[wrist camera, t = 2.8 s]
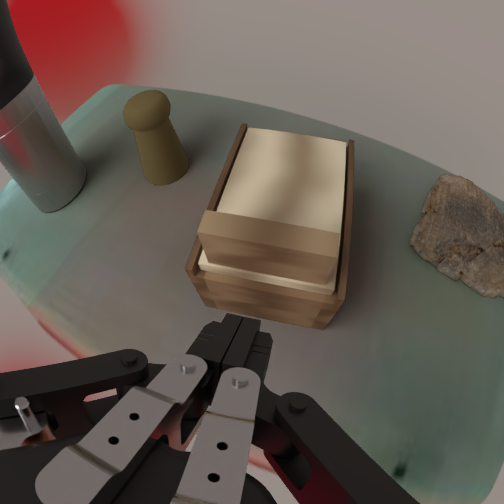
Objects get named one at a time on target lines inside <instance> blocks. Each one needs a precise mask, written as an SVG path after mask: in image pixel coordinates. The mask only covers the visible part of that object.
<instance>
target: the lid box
mask: <svg viewBox="0 0 504 504" xmlns="http://www.w3.org/2000/svg"><path fill="white" fill-rule="evenodd" d="M246 133H247V124H242V125H241V127H240V130H239V132H238V134H237V137H236V139H235V141H234V144H233V146H232V148H231V151H230V153H229V156H228V158H227V160H226V163H225V165H224V168H223V170H222V173H221V175H220V178H219V180H218V182H217V185H216V188H215V190H214V193H213V195H212V198H211V200H210V203H209V205H208V208H207V210H210V211H217V208H218V206H219V203H220V200H221V198H222V195H223V192H224V189H225V187H226V184H227V181H228V179H229V176H230V174H231V171H232V168H233V166H234V163H235V161H236V158H237V155H238V153H239V150H240V148H241V145H242V143H243V140H244V138H245V135H246ZM353 188H354V141H353V140H349V143H348V147H346V162H345V182H344V198H343V212H342V224H341V235H340V246H339V255H338V264H337V273H336V281H335V289H334V292H333V293H332V295H327V294H322V293H316V292H311V291H305V290H300V289H295V288H290V287H284V286H279V285H274V284H269V283H264V282H259V281H254V280H249V279H244V278H239V277H234V276H229V275H224V274H219V273H215V272H210V271H205V270H201V269H200V267H199V264H198V262H199V259H200V256H201V254H202V251H203V247H202V244H201V241H200V239H199V236H198V234H197V237H196V240H195V243H194V245H193V248H192V251H191V254H190V256H189V259H188V262H187V265H186V268H185V270H186V272H187V274H188V276H189V277H190V279H191V281H192V283H193V285H194V286H195V288H196V290H197V292H198V293H199V295H200V297H201V299H202V300H203V302H204V304H205V306H209V307H213V308H217V309H222V310H226V311H231V312H235V313H240V314H244V315H249V316H254V317H258V318H263V319H268V320H273V321H278V322H283V323H288V324H293V325H299V326H304V327H310V328H315V329H321V330H324V328H325V327H326V326H327V324H328V323H329V322H330V320H331V319H332V318H333V316H334V315H335V314H336V312H337V311H338V309H339V308H340V307H341V305H342V304H343V302H344V301H345V294H346V285H347V275H348V265H349V254H350V242H351V228H352V211H353Z"/></svg>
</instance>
